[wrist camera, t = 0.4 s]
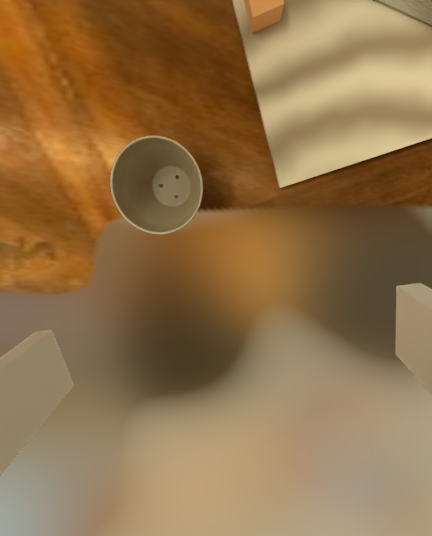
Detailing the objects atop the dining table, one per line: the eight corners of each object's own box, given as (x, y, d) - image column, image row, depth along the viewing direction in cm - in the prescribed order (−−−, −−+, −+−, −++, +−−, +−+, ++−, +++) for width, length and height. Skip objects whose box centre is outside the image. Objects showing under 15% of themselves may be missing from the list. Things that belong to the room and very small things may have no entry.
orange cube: (243, 0, 28) (243, -21, 25) (272, -14, 27) (276, -36, 24) (251, 33, 29) (252, 17, 26) (279, 21, 28) (284, 3, 25)
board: (231, 1, 29) (231, -6, 28) (643, -189, 23) (664, -209, 22) (278, 187, 34) (280, 187, 33) (621, 74, 28) (638, 70, 27)
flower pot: (222, 164, 34) (218, 161, 27) (192, 236, 37) (181, 248, 30) (149, 130, 34) (126, 117, 27) (124, 205, 37) (98, 211, 30)
